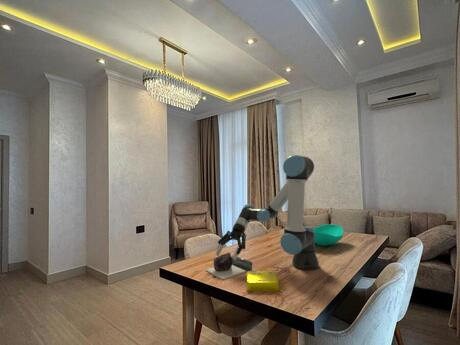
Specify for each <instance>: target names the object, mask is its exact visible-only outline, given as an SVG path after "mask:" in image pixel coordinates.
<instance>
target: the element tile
mask: <svg viewBox="0 0 460 345" xmlns="http://www.w3.org/2000/svg"><path fill="white" fill-rule="evenodd" d="M245 273H246V275H245V276H246V290H247V291H248V292H278V291H279V290H280V284H279V283H280V282H279V278H278V276H277V273H276V271H275V270H252V271H248V270H246V272H245Z"/></svg>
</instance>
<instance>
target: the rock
mask: <svg viewBox="0 0 460 345" xmlns="http://www.w3.org/2000/svg"><path fill="white" fill-rule="evenodd" d="M232 263H233V261H232V255H231V253H230V252H226V253H224V254H220V255H219V256H217V257H216V258H215V259H213V267H214V269H215V270H216V271H222V270H225V271H227V270H229V269H230V268H231V267H232V265H233V264H232Z"/></svg>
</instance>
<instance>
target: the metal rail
mask: <svg viewBox="0 0 460 345" xmlns="http://www.w3.org/2000/svg"><path fill="white" fill-rule="evenodd" d="M233 255H234V254H233ZM233 255H231V257H233ZM232 261H233V263H232V265H234V266H236V267H238V268H241V269H243V270H245V271H253V262H252V261H250V260H247V259H244V258H241V257H239V256H237V258H236V260H234V259H233V258H232Z"/></svg>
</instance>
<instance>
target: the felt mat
mask: <svg viewBox="0 0 460 345" xmlns="http://www.w3.org/2000/svg"><path fill="white" fill-rule="evenodd" d="M205 271H206V272H208V273H209V274H210V275H213V276H215V277H217V278H218V279H219V280H222V281H223V280H226V279H229V278H232V277H235V276H239V275H242V274H245V273H246V272H247V270H246V269H244V268H241V267H239V266H236V265H234V264H232V267H231V268H230V269H229V270H227V271H225V270H222V271H216V270H215V269H214V266H213V267H210V268H206V269H205Z"/></svg>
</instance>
